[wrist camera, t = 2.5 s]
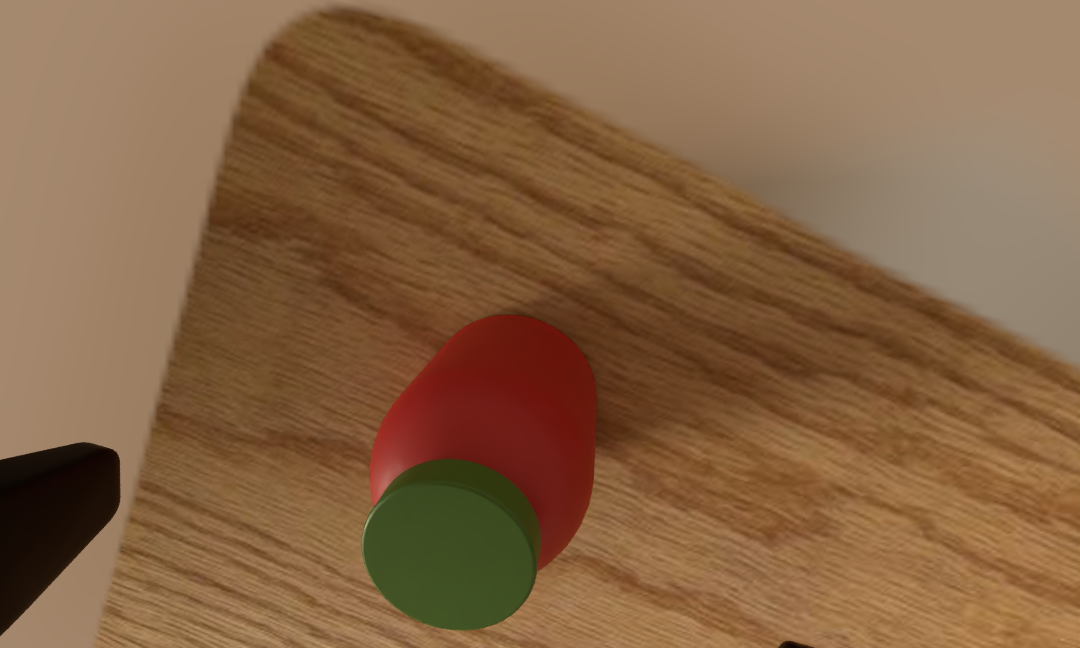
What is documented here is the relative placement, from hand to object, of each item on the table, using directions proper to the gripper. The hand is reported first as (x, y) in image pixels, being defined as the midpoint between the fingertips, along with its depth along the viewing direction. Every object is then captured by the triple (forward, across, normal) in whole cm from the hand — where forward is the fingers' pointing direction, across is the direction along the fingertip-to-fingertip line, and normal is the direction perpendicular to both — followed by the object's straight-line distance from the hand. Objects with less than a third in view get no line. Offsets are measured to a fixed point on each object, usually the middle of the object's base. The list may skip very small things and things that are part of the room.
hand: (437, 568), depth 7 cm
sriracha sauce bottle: (+5, 0, 0) cm, 5 cm away
